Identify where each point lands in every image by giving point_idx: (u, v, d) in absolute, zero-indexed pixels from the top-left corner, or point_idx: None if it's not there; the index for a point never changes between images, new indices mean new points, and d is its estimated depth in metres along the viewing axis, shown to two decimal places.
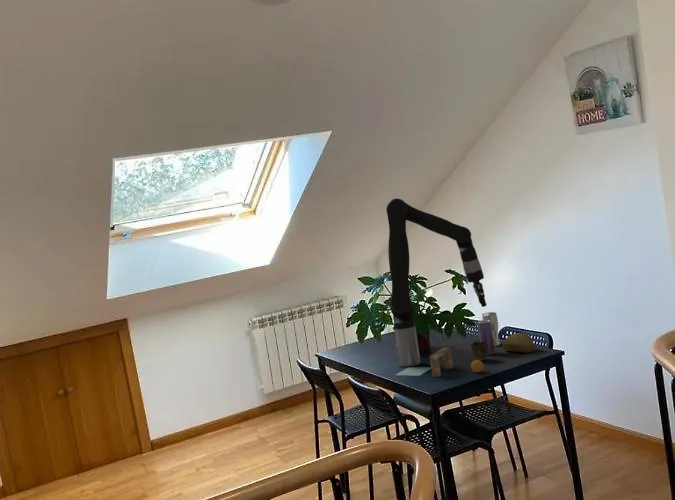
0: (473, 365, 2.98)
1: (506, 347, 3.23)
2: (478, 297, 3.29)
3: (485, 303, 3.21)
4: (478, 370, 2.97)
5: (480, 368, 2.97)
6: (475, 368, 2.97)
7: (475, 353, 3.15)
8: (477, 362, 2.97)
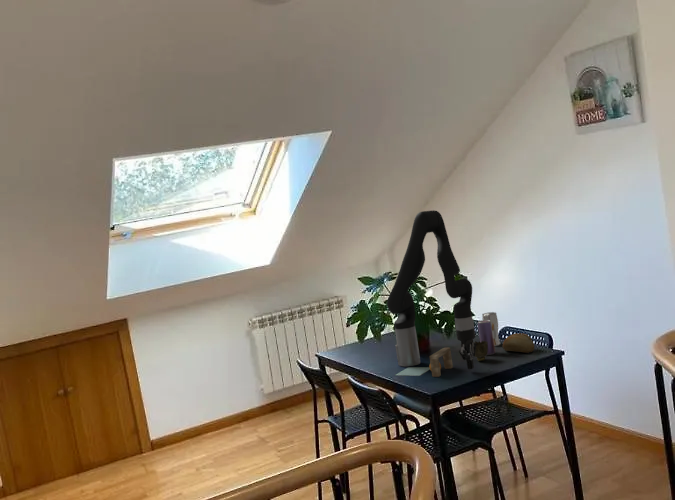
0: (430, 368, 3.08)
1: (506, 347, 3.23)
2: None
3: (471, 366, 3.00)
4: None
5: None
6: None
7: (475, 353, 3.15)
8: None
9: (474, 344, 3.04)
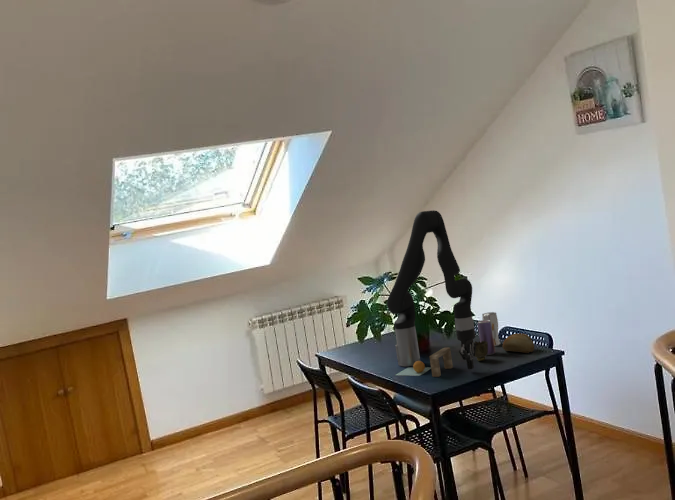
0: (419, 368, 3.11)
1: (506, 347, 3.23)
2: None
3: (471, 366, 3.00)
4: (413, 367, 3.13)
5: None
6: (416, 368, 3.11)
7: (475, 353, 3.15)
8: (420, 371, 3.12)
9: (474, 344, 3.04)
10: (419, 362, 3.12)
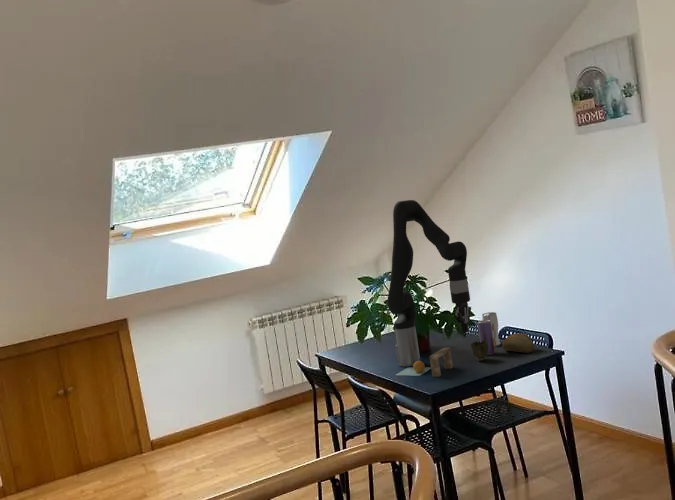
0: (419, 368, 3.11)
1: (506, 347, 3.23)
2: None
3: (466, 329, 2.99)
4: (413, 367, 3.13)
5: None
6: (416, 368, 3.11)
7: (475, 353, 3.15)
8: (420, 371, 3.12)
9: (469, 308, 3.03)
10: (419, 362, 3.12)
